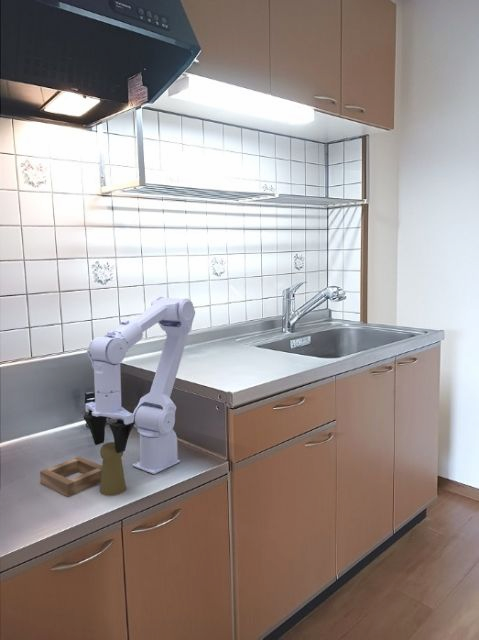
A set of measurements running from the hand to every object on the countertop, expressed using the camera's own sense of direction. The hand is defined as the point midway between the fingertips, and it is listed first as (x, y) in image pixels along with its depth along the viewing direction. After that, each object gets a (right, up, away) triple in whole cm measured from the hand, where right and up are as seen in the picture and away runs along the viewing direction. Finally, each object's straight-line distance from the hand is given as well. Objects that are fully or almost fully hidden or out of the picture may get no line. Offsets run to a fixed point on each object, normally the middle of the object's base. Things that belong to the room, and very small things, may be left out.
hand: (109, 447), depth 114 cm
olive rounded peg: (0, -10, +2) cm, 11 cm away
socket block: (-10, -10, +6) cm, 15 cm away
